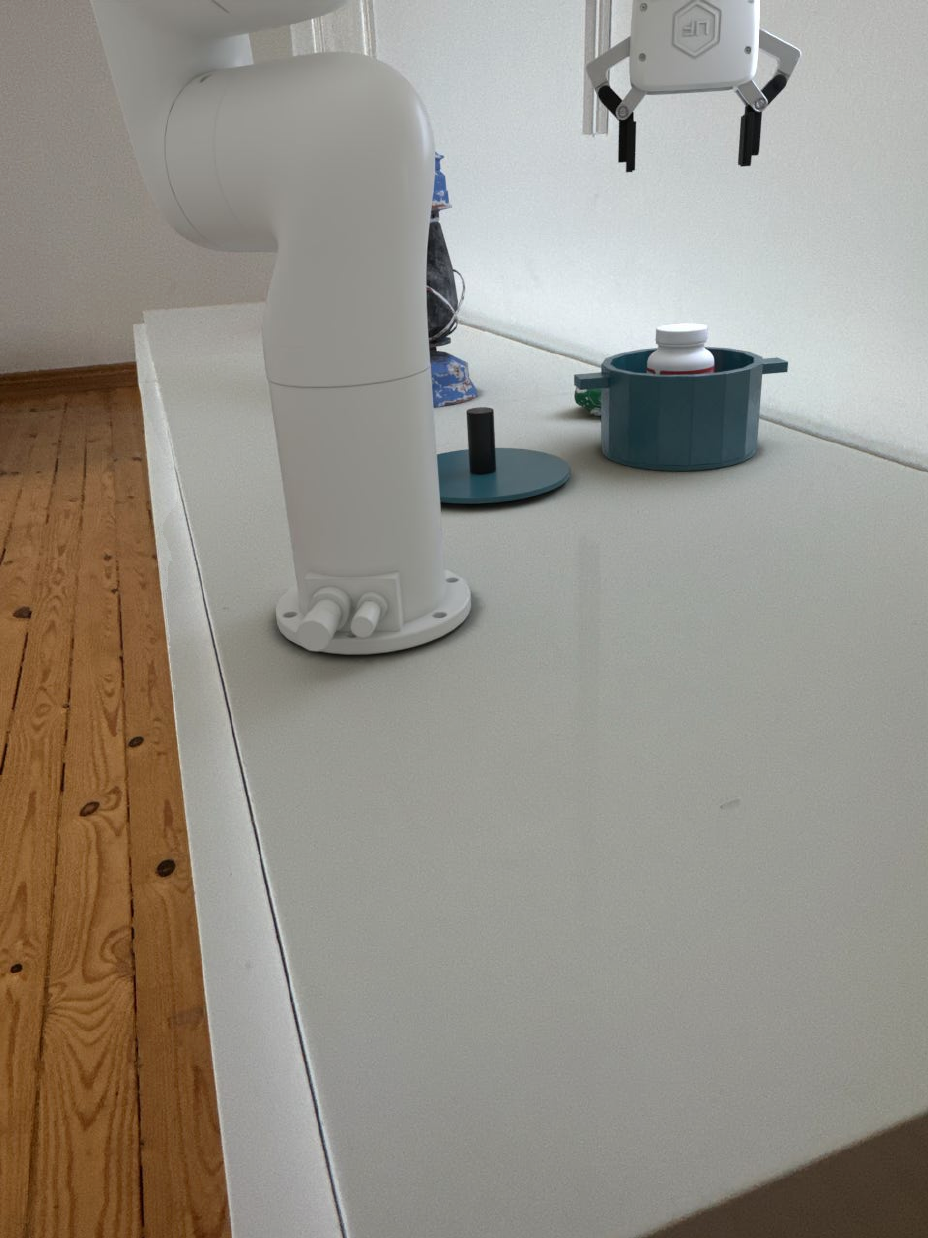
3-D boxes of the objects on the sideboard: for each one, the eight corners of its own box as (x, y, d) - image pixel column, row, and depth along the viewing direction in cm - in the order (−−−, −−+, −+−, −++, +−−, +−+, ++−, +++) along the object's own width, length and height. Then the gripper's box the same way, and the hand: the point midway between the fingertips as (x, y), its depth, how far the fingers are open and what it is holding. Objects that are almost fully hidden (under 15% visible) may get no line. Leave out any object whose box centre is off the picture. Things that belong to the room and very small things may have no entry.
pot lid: (588, 500, 81) (588, 422, 79) (404, 518, 80) (398, 439, 77) (549, 452, 95) (548, 385, 93) (392, 467, 94) (386, 399, 91)
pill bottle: (724, 444, 93) (730, 325, 88) (677, 456, 90) (682, 334, 85) (677, 432, 97) (681, 319, 93) (631, 444, 94) (634, 327, 90)
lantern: (477, 407, 115) (462, 124, 102) (375, 413, 115) (347, 132, 103) (477, 381, 129) (464, 130, 116) (385, 386, 129) (362, 136, 117)
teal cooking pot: (810, 459, 88) (819, 365, 85) (597, 480, 86) (597, 384, 83) (747, 422, 101) (752, 339, 98) (560, 439, 99) (559, 355, 96)
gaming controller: (577, 425, 111) (563, 397, 106) (586, 397, 112) (572, 367, 107) (655, 431, 107) (643, 401, 102) (663, 401, 108) (652, 371, 103)
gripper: (586, -72, 74) (585, 174, 81) (821, -92, 71) (799, 163, 79) (587, -51, 81) (586, 174, 88) (802, -69, 78) (783, 164, 85)
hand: (686, 168), depth 83 cm, fingers open, 9 cm apart
